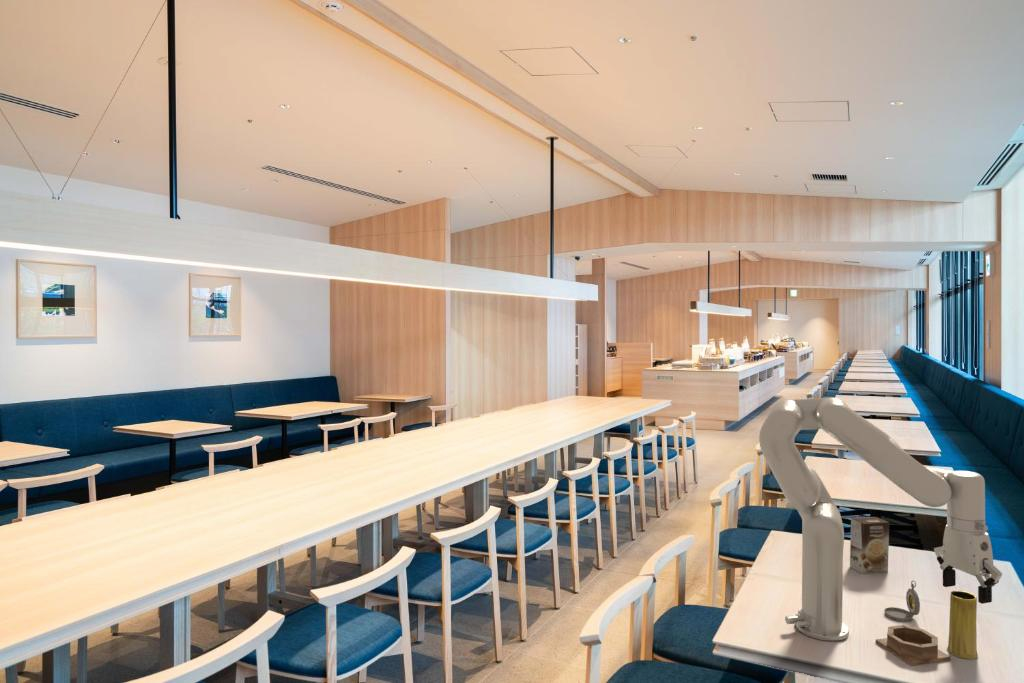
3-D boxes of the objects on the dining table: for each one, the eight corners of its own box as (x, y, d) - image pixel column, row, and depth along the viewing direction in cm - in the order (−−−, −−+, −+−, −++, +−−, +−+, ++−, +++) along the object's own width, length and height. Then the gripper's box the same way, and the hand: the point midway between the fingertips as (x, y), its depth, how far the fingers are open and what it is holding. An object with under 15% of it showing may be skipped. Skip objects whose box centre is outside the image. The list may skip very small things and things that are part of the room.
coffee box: (862, 574, 206) (863, 523, 206) (849, 566, 213) (849, 517, 212) (889, 572, 208) (889, 522, 207) (875, 564, 214) (875, 515, 213)
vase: (979, 652, 159) (980, 594, 159) (975, 662, 155) (976, 603, 154) (949, 643, 163) (950, 587, 163) (944, 653, 159) (946, 595, 158)
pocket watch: (878, 613, 180) (879, 577, 179) (899, 607, 183) (900, 572, 183) (907, 626, 172) (907, 589, 172) (928, 620, 176) (929, 583, 175)
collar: (911, 665, 154) (911, 649, 153) (875, 642, 164) (875, 627, 164) (950, 659, 156) (950, 644, 156) (912, 637, 167) (913, 622, 166)
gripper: (1013, 533, 150) (1013, 607, 150) (947, 512, 167) (948, 578, 167) (986, 536, 148) (986, 611, 149) (922, 514, 165) (923, 582, 166)
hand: (966, 594), depth 158 cm, fingers open, 9 cm apart
